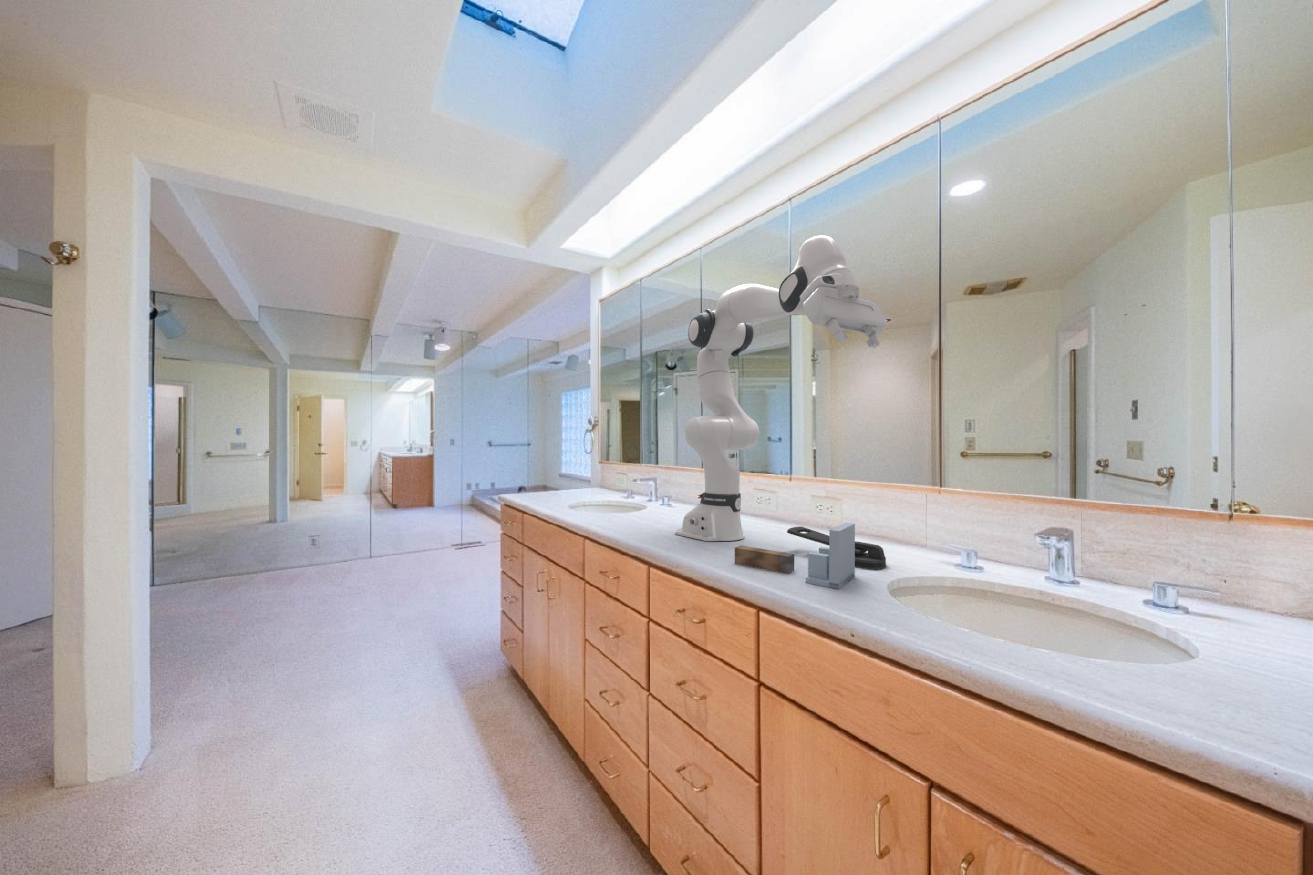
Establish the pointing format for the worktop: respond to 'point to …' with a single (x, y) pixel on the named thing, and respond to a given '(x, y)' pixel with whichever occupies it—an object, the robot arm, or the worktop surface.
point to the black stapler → (862, 559)
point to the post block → (834, 559)
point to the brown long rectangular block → (764, 559)
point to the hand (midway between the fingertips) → (859, 343)
